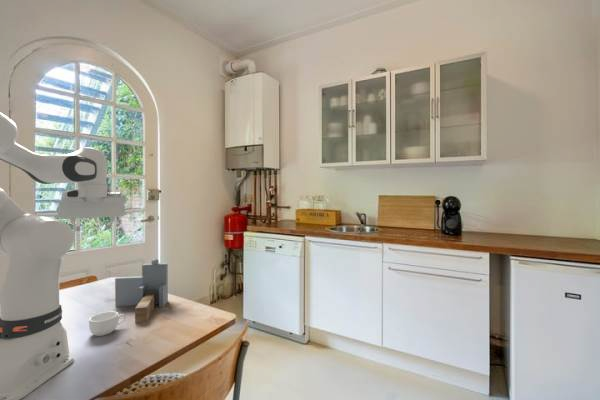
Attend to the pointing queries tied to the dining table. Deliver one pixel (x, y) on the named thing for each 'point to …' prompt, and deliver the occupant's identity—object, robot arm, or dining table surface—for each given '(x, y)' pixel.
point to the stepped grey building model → (143, 285)
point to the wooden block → (145, 306)
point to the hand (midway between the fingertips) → (93, 230)
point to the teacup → (104, 322)
